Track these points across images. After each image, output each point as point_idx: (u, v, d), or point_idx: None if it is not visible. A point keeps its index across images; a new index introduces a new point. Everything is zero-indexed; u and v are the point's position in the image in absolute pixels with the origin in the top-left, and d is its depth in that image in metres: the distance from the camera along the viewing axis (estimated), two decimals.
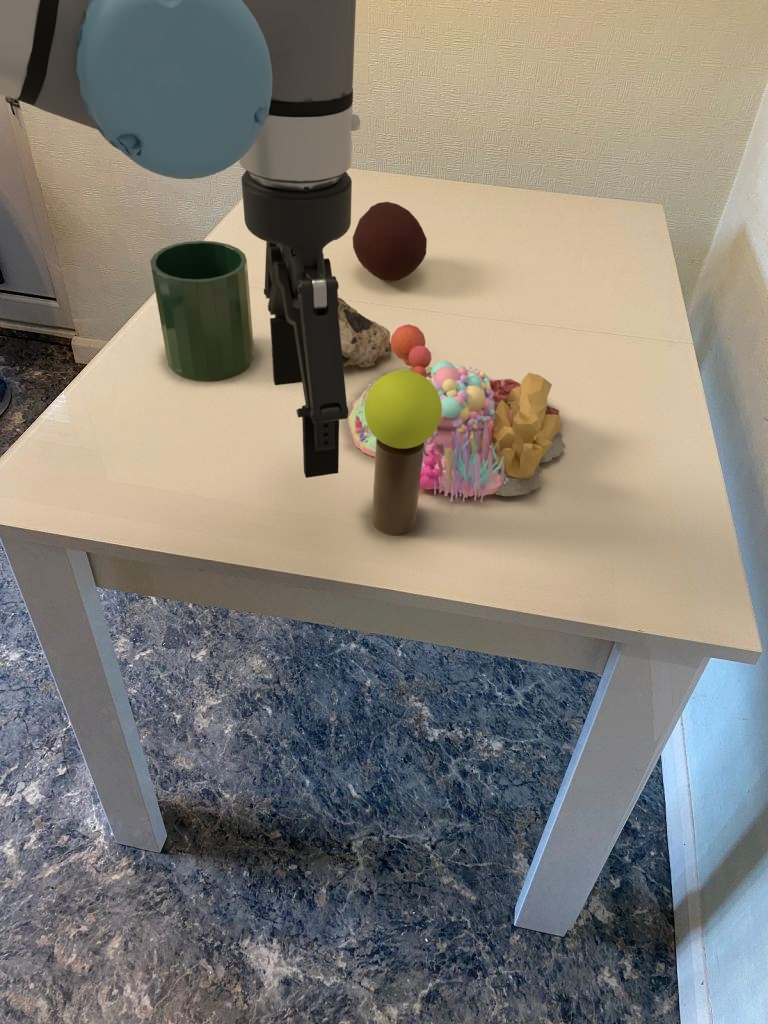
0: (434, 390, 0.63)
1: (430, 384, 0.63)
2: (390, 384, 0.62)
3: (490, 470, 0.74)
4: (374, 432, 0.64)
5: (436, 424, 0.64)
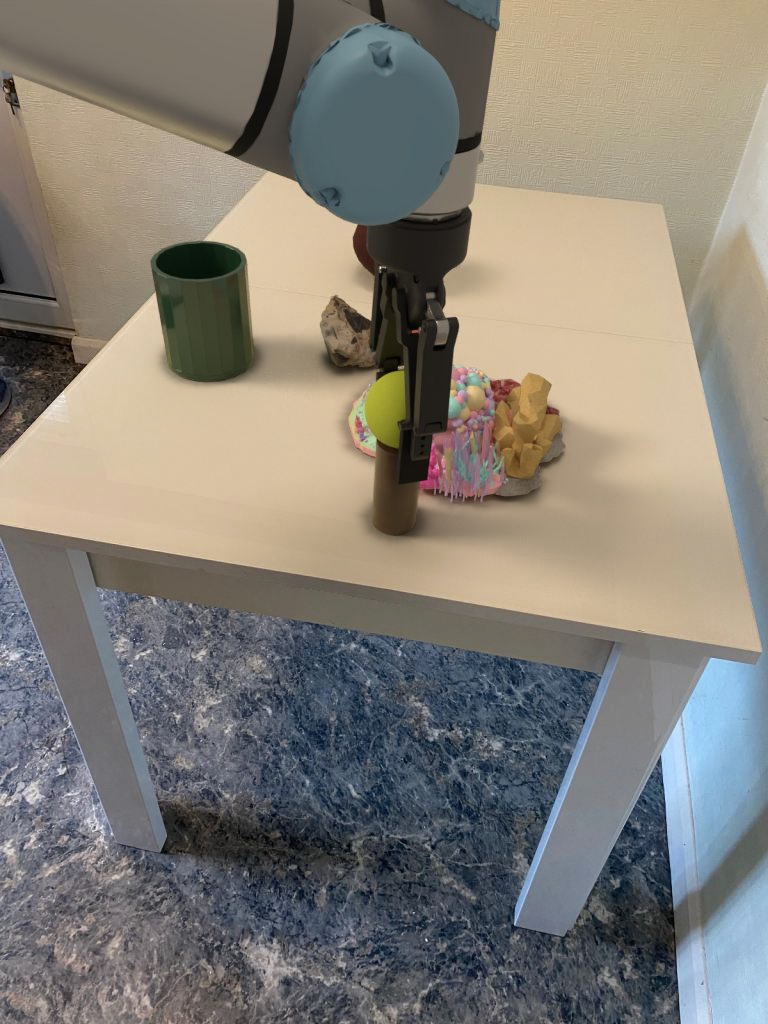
0: None
1: None
2: (390, 384, 0.62)
3: (490, 470, 0.74)
4: (374, 432, 0.64)
5: None
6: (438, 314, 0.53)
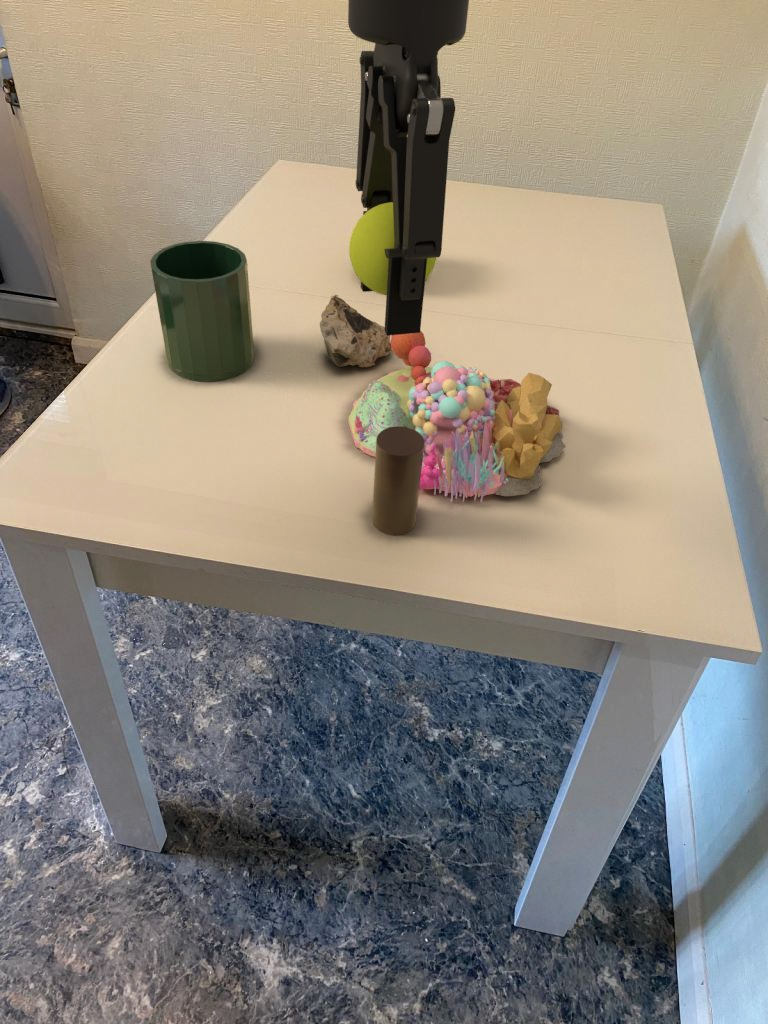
0: None
1: None
2: (378, 212, 0.54)
3: (490, 470, 0.74)
4: (360, 272, 0.56)
5: (430, 263, 0.56)
6: (430, 94, 0.45)
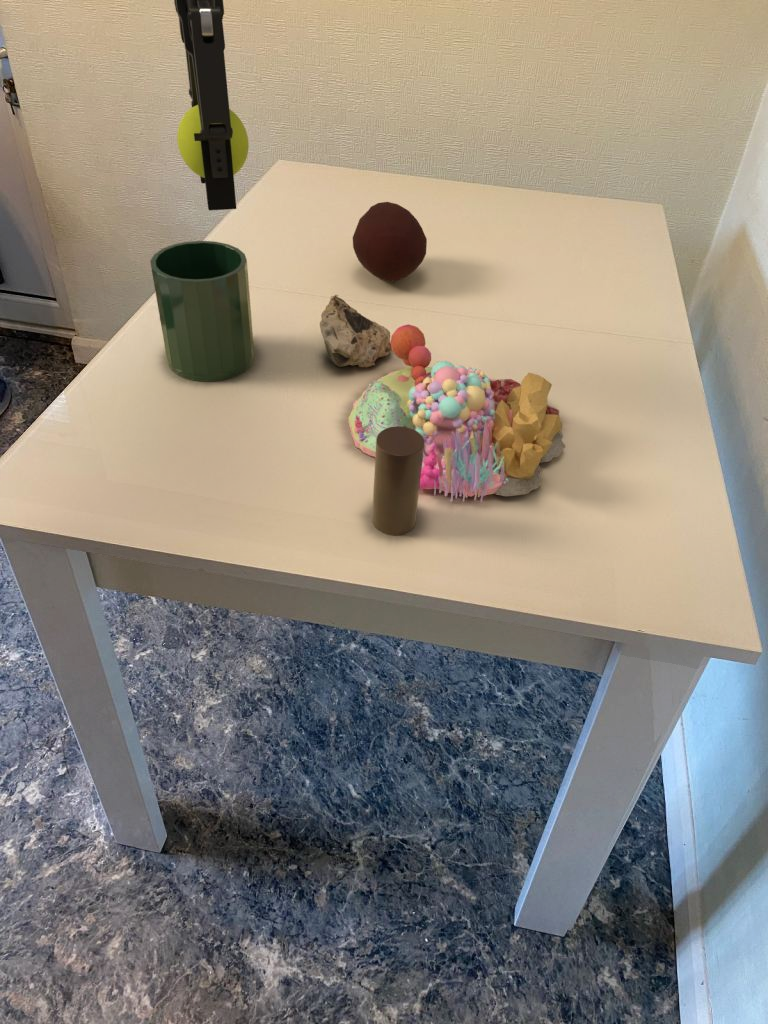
0: (237, 119, 0.70)
1: (233, 113, 0.70)
2: (194, 109, 0.69)
3: (490, 470, 0.74)
4: (185, 158, 0.71)
5: (239, 151, 0.71)
6: (204, 4, 0.60)
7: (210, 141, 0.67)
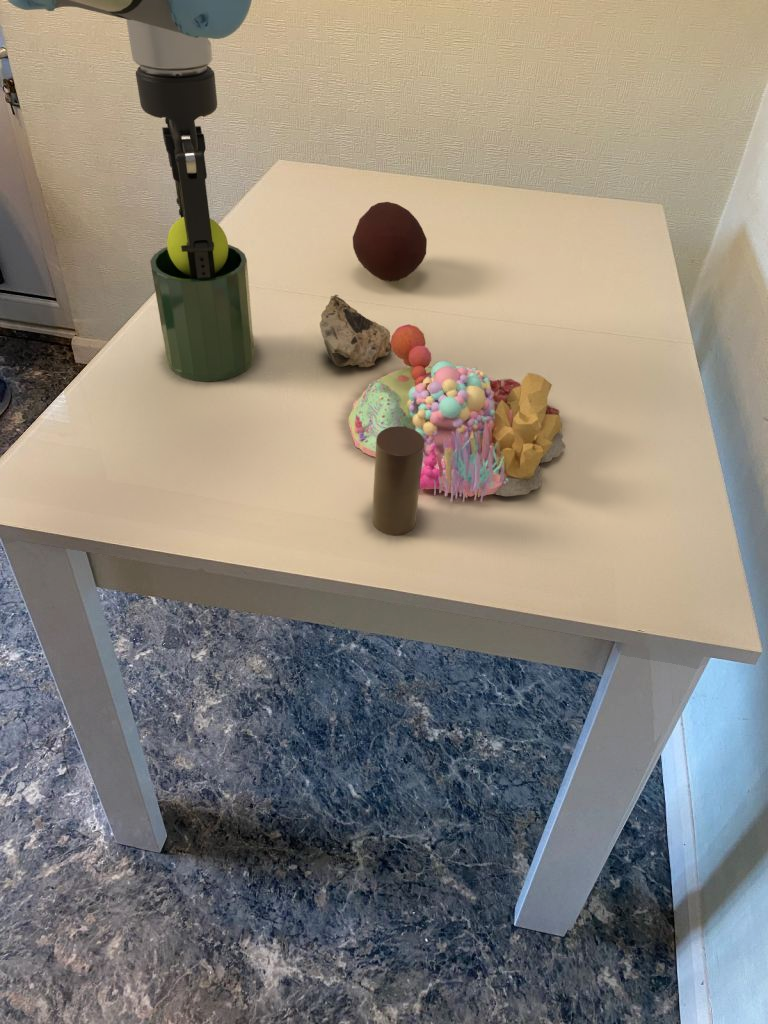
0: (218, 228, 0.82)
1: (215, 224, 0.82)
2: (181, 221, 0.81)
3: (490, 470, 0.74)
4: (173, 262, 0.83)
5: (220, 255, 0.83)
6: (188, 149, 0.72)
7: (195, 252, 0.79)
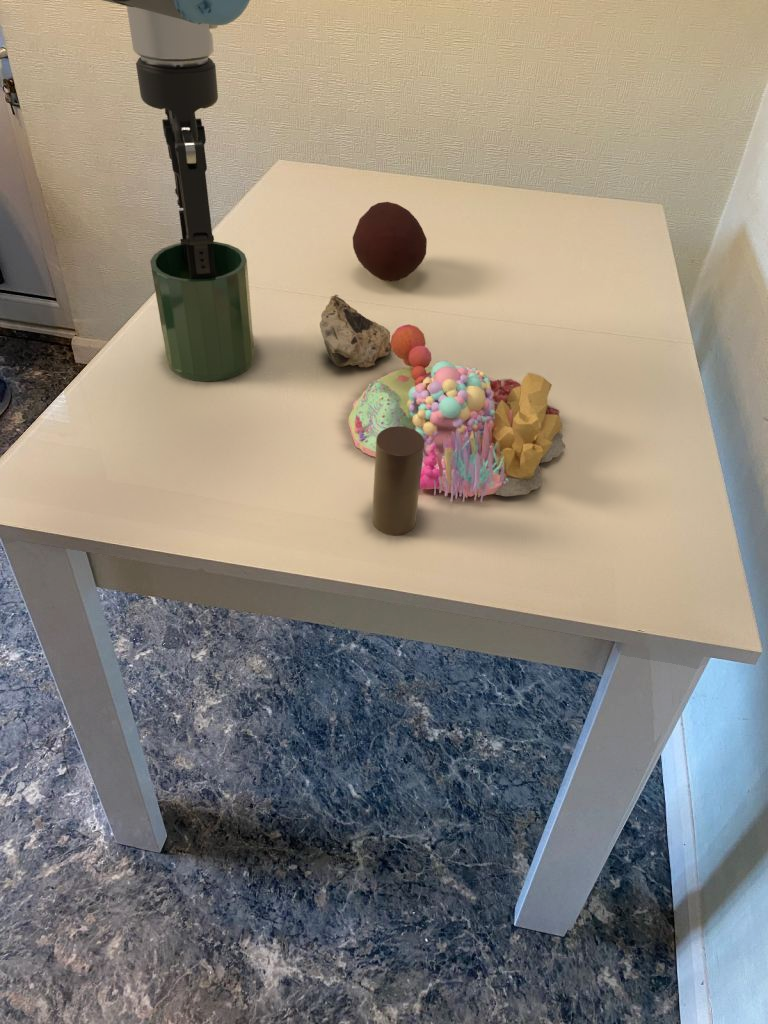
0: None
1: None
2: None
3: (490, 470, 0.74)
4: None
5: None
6: (188, 139, 0.71)
7: (194, 245, 0.78)
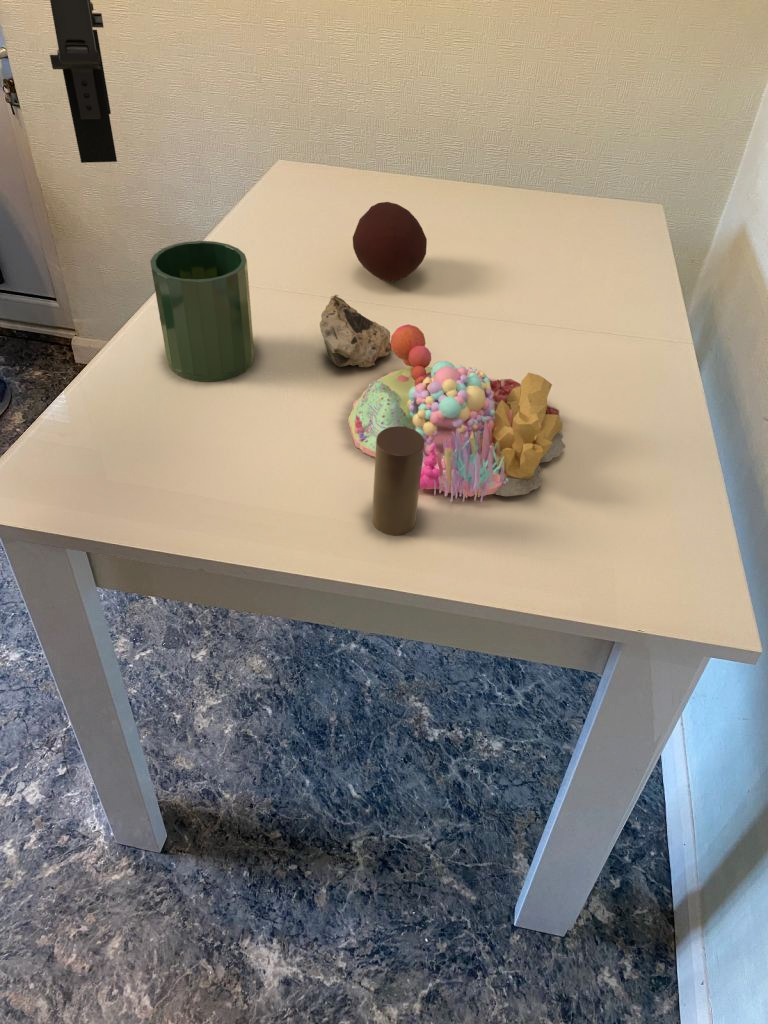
0: None
1: None
2: None
3: (490, 470, 0.74)
4: None
5: None
6: None
7: None
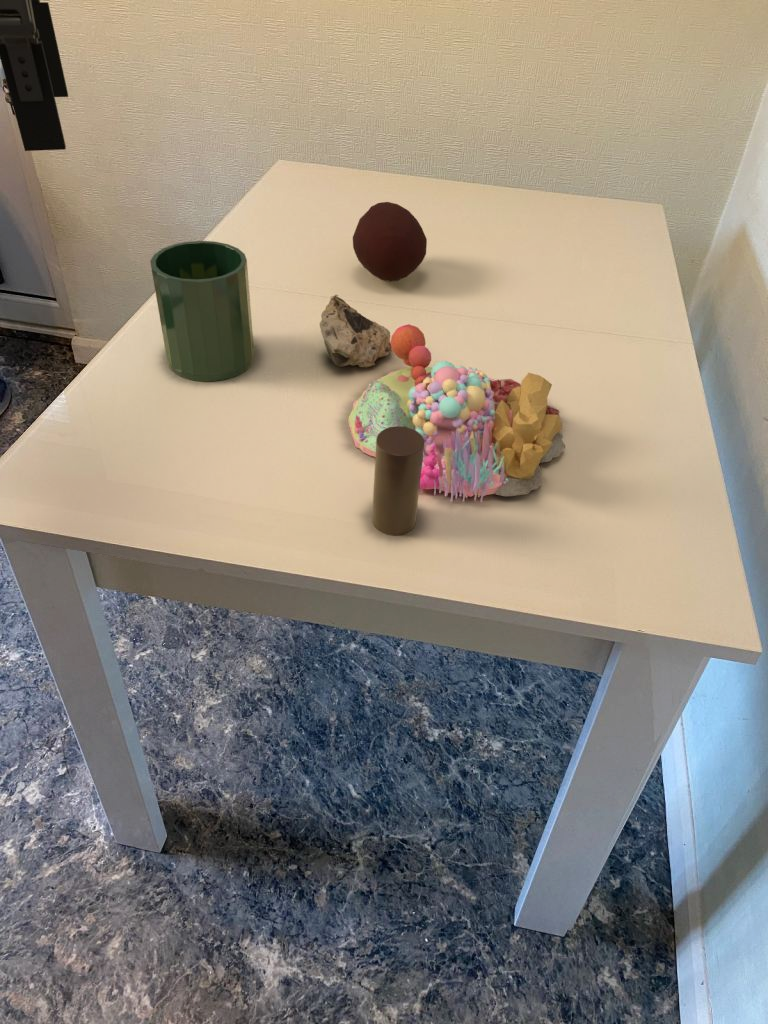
0: None
1: None
2: None
3: (490, 470, 0.74)
4: None
5: None
6: None
7: None
